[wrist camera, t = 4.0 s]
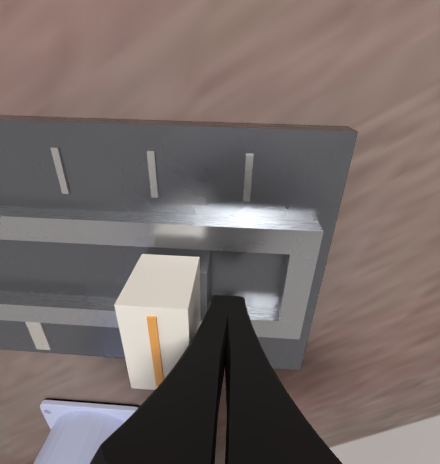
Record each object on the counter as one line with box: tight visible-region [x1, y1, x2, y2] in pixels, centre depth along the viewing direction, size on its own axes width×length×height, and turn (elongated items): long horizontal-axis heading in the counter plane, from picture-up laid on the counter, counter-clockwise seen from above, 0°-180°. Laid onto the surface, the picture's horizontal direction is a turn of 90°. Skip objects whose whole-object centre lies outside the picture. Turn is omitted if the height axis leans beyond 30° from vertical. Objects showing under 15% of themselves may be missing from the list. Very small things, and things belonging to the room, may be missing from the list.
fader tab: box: [114, 247, 211, 390], centre depth 12 cm, size 4×3×5 cm
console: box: [0, 115, 358, 370], centre depth 15 cm, size 14×22×2 cm, turn 89°
